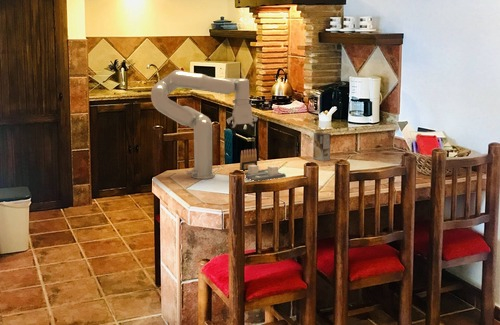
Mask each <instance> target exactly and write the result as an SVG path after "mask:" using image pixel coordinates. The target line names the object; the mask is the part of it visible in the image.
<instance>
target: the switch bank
mask: <svg viewBox="0 0 500 325" xmlns="http://www.w3.org/2000/svg"><path fill="white" fill-rule="evenodd" d="M244 172H245V175H246V178H248V179H247V180H249V179H251V180H250V181H252V180H254V181H256V182H259V181H258V180H262V181H267V180H268V179H269V180H275V179H281V178H286V177H287V176H286V173H282V172H279V171H278V174H276V175H268V168H265V169H260V170H259V169H258V174H252V175H251V174H248V171H244ZM246 178H245V179H246ZM274 178H275V179H274ZM254 181H253V182H254Z"/></svg>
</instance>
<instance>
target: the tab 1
mask: <svg viewBox="0 0 500 325" xmlns="http://www.w3.org/2000/svg"><path fill="white" fill-rule="evenodd" d="M258 170H259V165H258V164H257V165H248V171H247V172H248V174H251V175H252V174H258Z"/></svg>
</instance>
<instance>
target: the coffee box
mask: <svg viewBox="0 0 500 325" xmlns="http://www.w3.org/2000/svg"><path fill="white" fill-rule="evenodd" d="M331 139H332V136H331V133H327V132H323V131H322V132H321V131H319V132H318V131H317V132H313V147H312V148H313V149H312V150H313V151H312V159H313V160H315V161H316V160H317V161H321V162H326V161H327V162H329V161H331V143H332V142H331V141H332V140H331Z"/></svg>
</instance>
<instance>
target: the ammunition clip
mask: <svg viewBox="0 0 500 325" xmlns="http://www.w3.org/2000/svg"><path fill="white" fill-rule="evenodd" d="M257 157H258V156H257V149H256V147H255V149H254V148H252V149H248V148H247V149H244V150H241V152H240V163H239V171H240V170H243V171H242V172H246V171H245V170H248V165H257V166H258V159H257Z"/></svg>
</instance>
